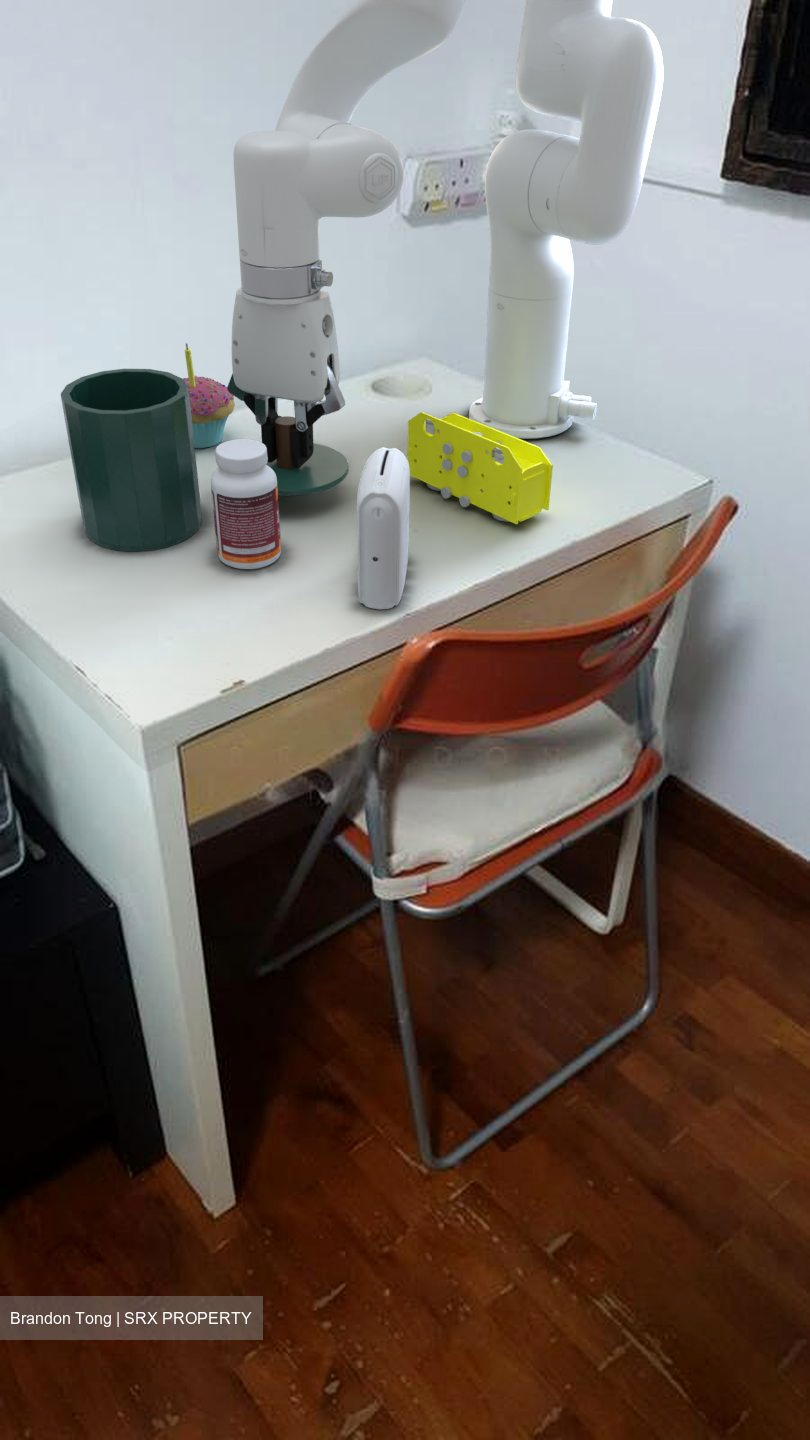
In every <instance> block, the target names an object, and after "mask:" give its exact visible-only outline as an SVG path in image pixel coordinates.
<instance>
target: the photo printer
mask: <svg viewBox="0 0 810 1440" xmlns="http://www.w3.org/2000/svg"><path fill="white" fill-rule="evenodd" d="M410 485H411V476H410V467H409V463H408V458H407V457H406V456H405V454H404V453H403V452H402V451H401V450H399V449H398V448H396V447H393V448H388V447H384V446H382V447H379V448H377V449H376V450H375V451H373V452H372V453H371V455H370V456H368V458H367V460H366V462H365V463H364V466H363V469H362V472H361V475H360V479H359V482H358V488H357V493H356V526H357V527H356V528H357V530H356V531H357V533H356V534H357V535H356V537H357V539H356V540H357V592H358V600H359V603H360V604H363V605H364V607H366V608H369V609H373V610H389V609H393V608H394V606H398V605H399V603H400V601H401V600H402V596H403V592H404V588H405V583H406V578H407V571H408V563H409V549H410V499H411V497H410V496H411V495H410V492H411V491H410V490H411V486H410Z"/></svg>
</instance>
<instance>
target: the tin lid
mask: <svg viewBox="0 0 810 1440" xmlns="http://www.w3.org/2000/svg"><path fill="white" fill-rule="evenodd" d="M295 423H296V422H295V416H289V415H286V416H282V417H279V418H277V419H276V420H275V434H276V455H277V459H276V460H275V461H273V462H272V463H270V462H267V464H266V465H267V466H269V467H270V468H271V469H272V470H273V471H274V472H275V474H276V477H277V489H278V496H280V497H281V496H282V497H283V496H285V497H286V496H287V497H288V496H290V497H291V496H303V495H304V496H305V495H310V494H315V493H319V492H323V491H326V490H329V489H331V488H334V487H335V486H337V485H339V484H341V482H343V481H344V480H345V479H346V478H347V476H348V474H349V471H350V469H349V467H350V466H349V465H350V464H349V461H348V458H347V457H346V456H345V455H344V454H343V453H341V452H340V451H338V450H336V449H334V448H332V447H330V446H327V445H324V444H320V443H315V442H313V446H314V451H313V454H312V456H311V457H310V459H309V460H308V461H306V462H305V463H304V464H303V465H302V466H301V467H300V468H298V467H294V465H292V443H291V432H292V430H294V429H295V428H296V426H295Z"/></svg>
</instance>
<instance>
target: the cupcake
mask: <svg viewBox="0 0 810 1440" xmlns="http://www.w3.org/2000/svg"><path fill="white" fill-rule="evenodd" d="M184 354H185V355H184V357H185V364H186V370H187V371H186V372H187V377H182V379H183V380H184V381H185V383H186V384H187V386H188V388H189V398H190V408H191V417H192V427H193V436H194V446H195V449H205V448H211V447H215V446H216V445H217V446H218V445H219V444H221V442H222V440H223V435H224V431H225V428H226V423H227V420H228V418H229V416H230V415H231V414H232V413H233V412H234V409H235V406H236V405H235V398H234V397H235V396H233V395H232V394H230V393H229V392H228V390H227V386H226V384H223V383H222V382H219V381H216V380H215V379H212V378H210V377H205V376H197V375H195V372H194V365H193V364H194V363H193V359H192V358H193V357H192V349H191V348H189V345H188V343H187V342H185V349H184Z"/></svg>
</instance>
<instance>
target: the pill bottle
mask: <svg viewBox="0 0 810 1440" xmlns="http://www.w3.org/2000/svg"><path fill="white" fill-rule="evenodd" d="M267 461H268V457H267V448H266V446H265V445H264V444H263V443H262V441H258V440H256V439H249V438H236V439H231V440H227V441H224V442H222V443H219V444H217V446H216V448H215V463H216V466H217V468H216V469H215V470H214V471H213V472H212V474H211V477H210V492H211V503H212V513H213V523H214V533H215V534H214V535H215V543H216V552H217V556H218V558H219V560H220V562H222V563H223V564H225V565H226V566H228V567H230V568H231V567H232V568H234V569H240V570H255V569H261V568H264V567H267V566H270V565H271V564H273V563H275V562H276V561H277V560H278V559H279V557H280V556H281V554H282V541H281V539H282V537H281V524H280V523H281V522H280V509H279V508H280V507H279V506H280V505H279V495H278V489H277V477H276V474H275V472H274V471H273V470H272V469H271V468H270V467H269V466H267V465H266V464H267Z"/></svg>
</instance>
